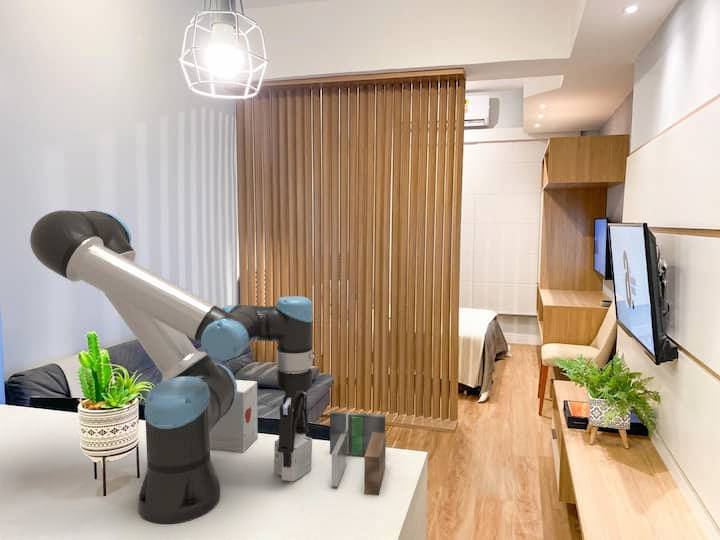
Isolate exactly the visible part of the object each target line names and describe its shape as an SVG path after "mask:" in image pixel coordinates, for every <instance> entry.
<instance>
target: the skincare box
mask: <svg viewBox="0 0 720 540" xmlns="http://www.w3.org/2000/svg"><path fill="white" fill-rule="evenodd" d="M278 447H279V438H278V439H276V440H275V441H274V456H273V457H274V459H273V460H274V461H273V463H274V464H273V468H274V469H273V473H274V474H276V475H279V476H282V452H278V450H277V449H278ZM294 450H295V481H297V480H298V479H299V478H301V477H302V476H304V475H306V474H307V473H308V472H309V471H311V470H312V460H313V459H312V458H313V457H312V455H313V438H312V437H308V436H306V437H305V436H303V435H299V434H295V442H294Z"/></svg>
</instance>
